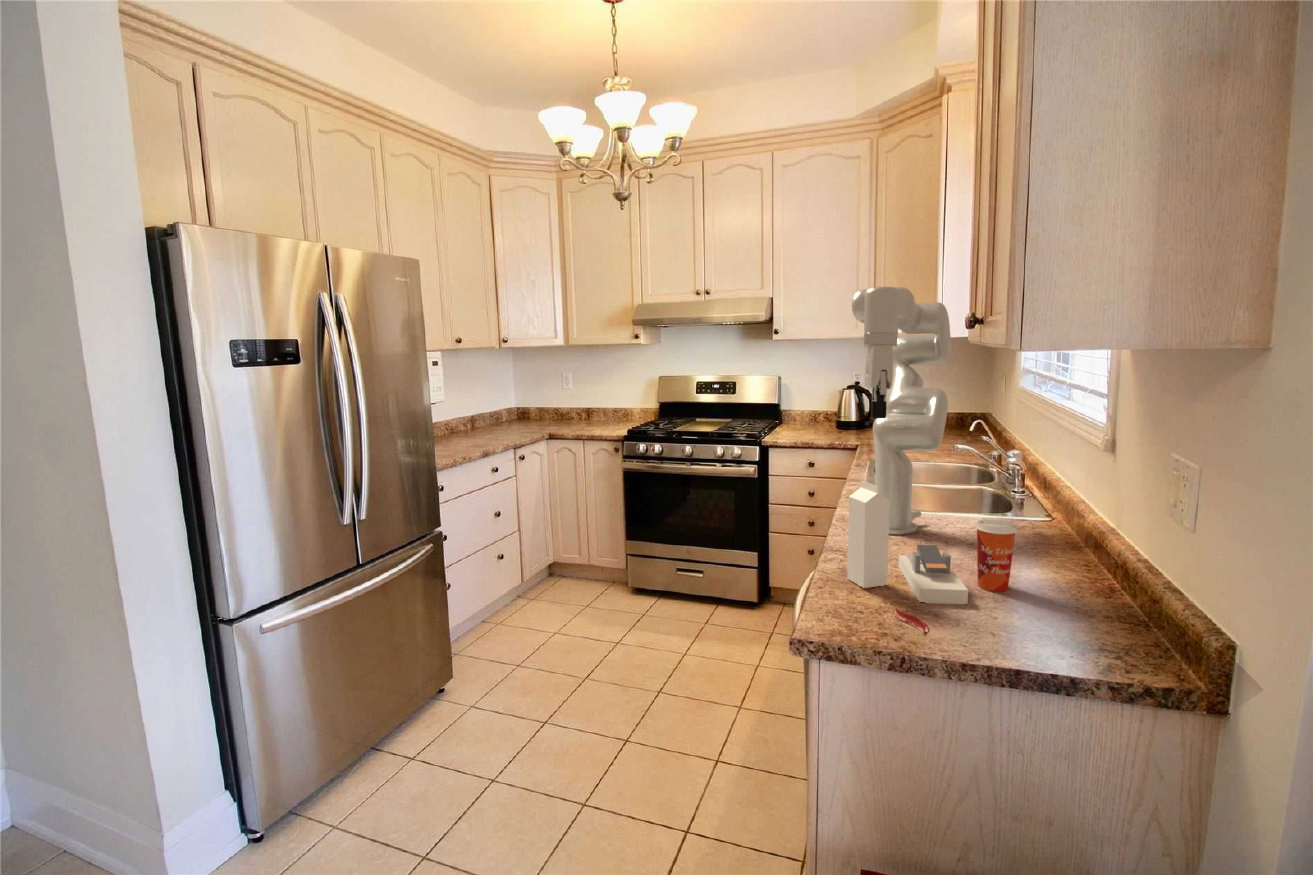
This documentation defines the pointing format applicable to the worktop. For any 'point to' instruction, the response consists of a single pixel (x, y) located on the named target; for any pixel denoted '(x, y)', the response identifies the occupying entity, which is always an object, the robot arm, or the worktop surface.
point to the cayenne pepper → (912, 619)
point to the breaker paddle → (931, 559)
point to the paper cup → (994, 553)
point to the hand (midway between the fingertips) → (878, 417)
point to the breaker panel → (933, 581)
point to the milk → (868, 536)
